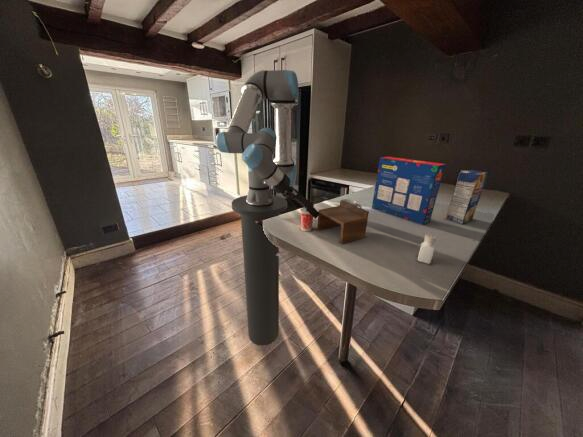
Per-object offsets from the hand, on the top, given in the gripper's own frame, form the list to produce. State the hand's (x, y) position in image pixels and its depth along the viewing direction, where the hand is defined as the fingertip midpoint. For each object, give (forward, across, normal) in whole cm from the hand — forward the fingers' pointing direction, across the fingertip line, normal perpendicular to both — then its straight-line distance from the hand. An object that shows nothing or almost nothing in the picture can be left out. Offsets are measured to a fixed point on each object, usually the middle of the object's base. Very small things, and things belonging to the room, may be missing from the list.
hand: (307, 210), depth 99 cm
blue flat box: (+44, +8, +32) cm, 55 cm away
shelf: (+14, +10, +2) cm, 17 cm away
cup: (+26, -2, +13) cm, 29 cm away
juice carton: (+60, +26, +48) cm, 81 cm away
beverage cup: (+6, 0, -6) cm, 9 cm away
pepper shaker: (+22, +41, +9) cm, 47 cm away
